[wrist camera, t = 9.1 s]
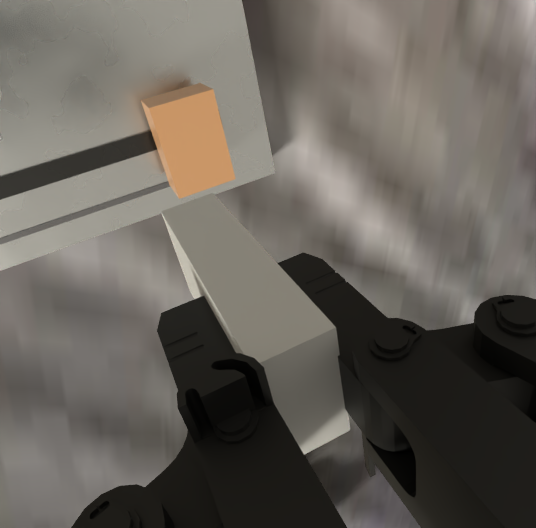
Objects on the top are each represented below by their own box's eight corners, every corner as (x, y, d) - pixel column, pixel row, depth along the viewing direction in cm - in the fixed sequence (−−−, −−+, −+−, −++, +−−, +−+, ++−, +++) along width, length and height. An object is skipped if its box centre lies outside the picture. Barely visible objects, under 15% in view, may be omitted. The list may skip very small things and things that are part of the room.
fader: (166, 180, 24) (179, 198, 22) (138, 97, 22) (148, 108, 19) (217, 163, 25) (235, 179, 23) (195, 80, 23) (213, 89, 20)
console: (-78, 282, 24) (-88, 302, 22) (-432, -176, 14) (-499, -202, 12) (262, 163, 28) (276, 173, 27) (177, -243, 19) (190, -269, 17)
